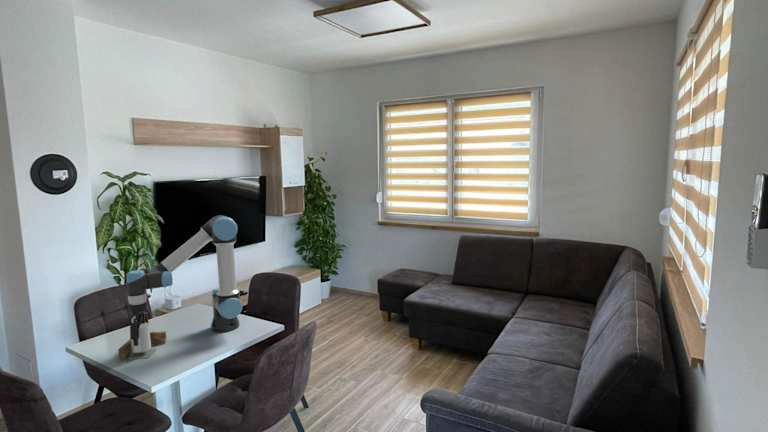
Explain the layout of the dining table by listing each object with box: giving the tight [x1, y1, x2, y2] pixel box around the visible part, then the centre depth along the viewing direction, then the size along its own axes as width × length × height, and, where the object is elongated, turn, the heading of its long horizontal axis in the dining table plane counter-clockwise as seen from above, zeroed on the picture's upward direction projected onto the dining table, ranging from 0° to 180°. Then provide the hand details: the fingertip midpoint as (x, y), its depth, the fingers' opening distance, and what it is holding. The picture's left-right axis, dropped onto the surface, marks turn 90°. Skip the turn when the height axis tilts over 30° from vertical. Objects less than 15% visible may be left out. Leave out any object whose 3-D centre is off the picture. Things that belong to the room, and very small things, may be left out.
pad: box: [126, 348, 158, 360], centre depth 207 cm, size 10×10×1 cm
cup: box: [131, 322, 152, 353], centre depth 206 cm, size 8×8×12 cm
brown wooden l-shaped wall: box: [117, 330, 168, 362], centre depth 210 cm, size 14×20×6 cm
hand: (141, 347), depth 206 cm, fingers closed on cup, 8 cm apart
